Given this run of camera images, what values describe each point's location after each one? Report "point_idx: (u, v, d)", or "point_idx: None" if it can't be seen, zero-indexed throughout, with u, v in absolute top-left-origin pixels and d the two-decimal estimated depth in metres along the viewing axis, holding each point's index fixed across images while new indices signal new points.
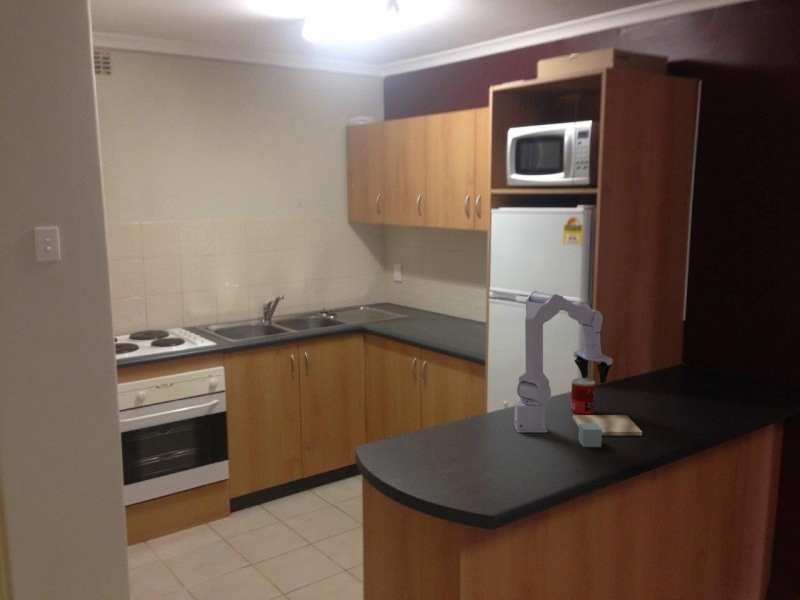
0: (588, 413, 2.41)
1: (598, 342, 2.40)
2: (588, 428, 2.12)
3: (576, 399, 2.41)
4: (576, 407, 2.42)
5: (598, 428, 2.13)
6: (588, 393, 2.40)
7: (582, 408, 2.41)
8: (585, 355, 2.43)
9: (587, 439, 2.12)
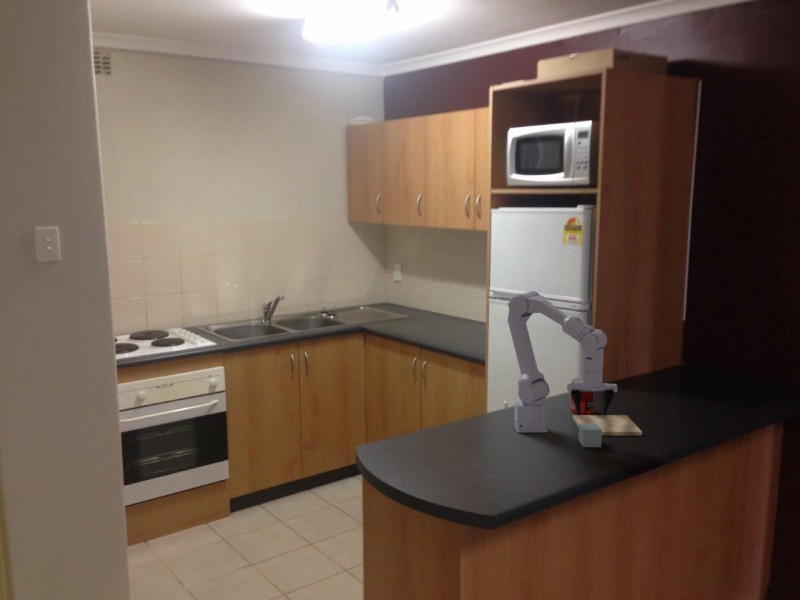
0: (588, 413, 2.41)
1: (588, 370, 2.09)
2: (588, 428, 2.12)
3: None
4: None
5: (598, 428, 2.13)
6: (588, 392, 2.40)
7: (582, 408, 2.41)
8: None
9: (587, 439, 2.12)
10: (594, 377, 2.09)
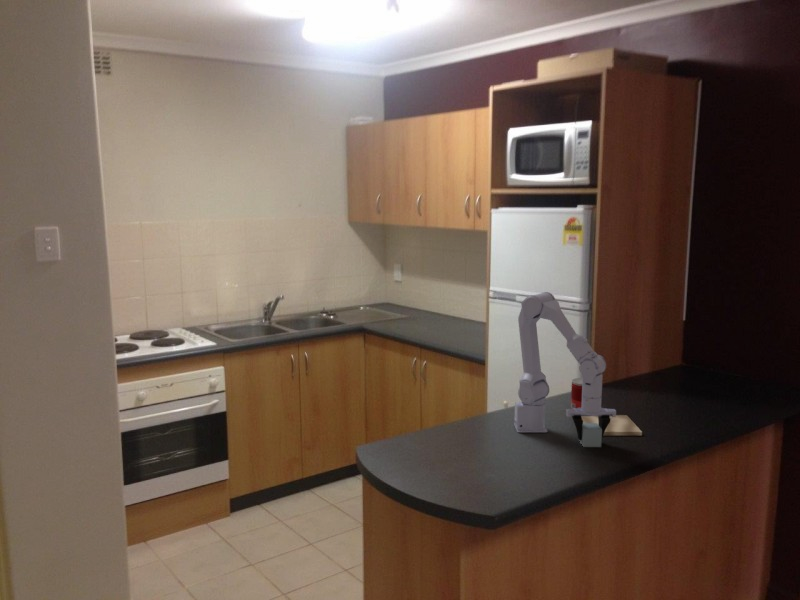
0: None
1: (587, 395, 2.11)
2: (588, 428, 2.12)
3: (576, 399, 2.41)
4: None
5: (598, 428, 2.13)
6: None
7: None
8: None
9: (587, 438, 2.12)
10: (593, 403, 2.10)
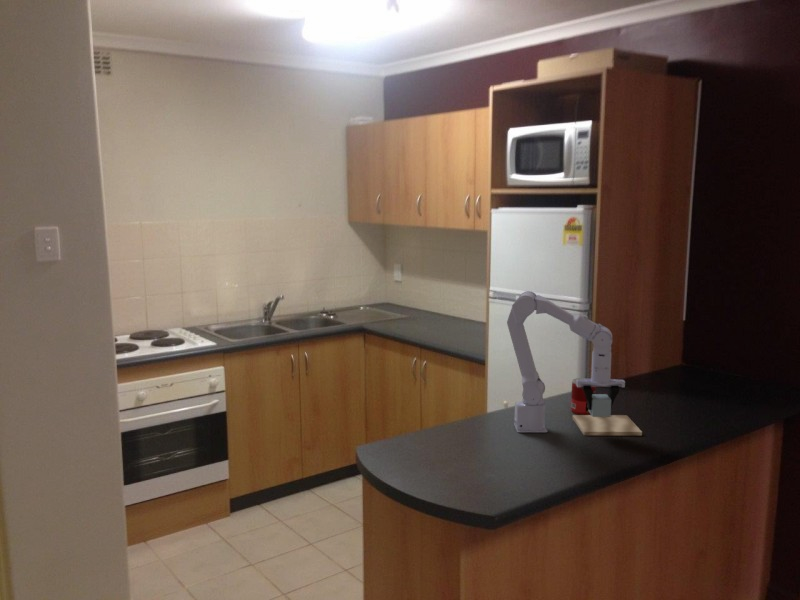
0: (589, 413, 2.41)
1: (600, 366, 2.16)
2: (597, 398, 2.18)
3: (577, 399, 2.41)
4: (577, 407, 2.41)
5: (607, 398, 2.19)
6: None
7: (583, 408, 2.41)
8: None
9: (597, 408, 2.18)
10: (603, 373, 2.16)
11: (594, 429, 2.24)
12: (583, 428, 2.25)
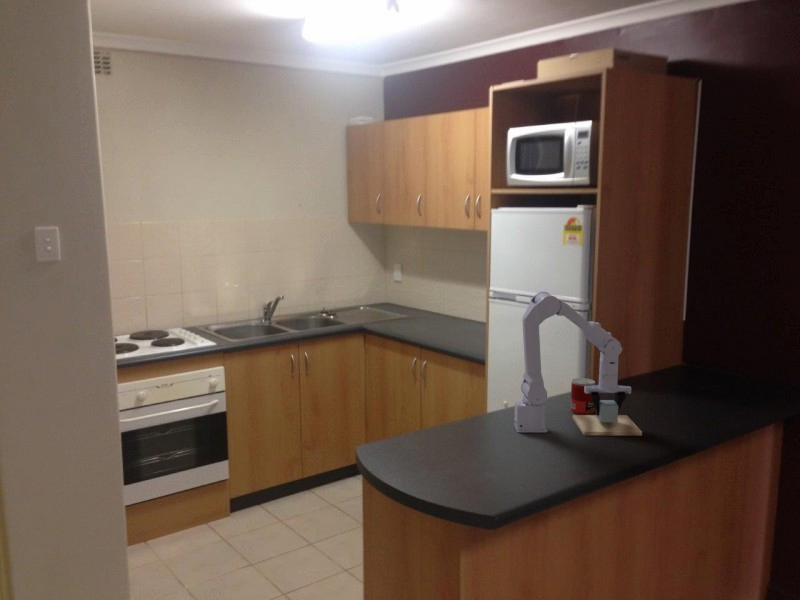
0: (589, 413, 2.41)
1: (611, 373, 2.24)
2: (605, 404, 2.26)
3: (576, 399, 2.41)
4: (577, 407, 2.41)
5: (615, 404, 2.27)
6: None
7: (583, 408, 2.41)
8: None
9: (604, 414, 2.26)
10: (610, 380, 2.24)
11: (594, 429, 2.24)
12: (583, 428, 2.25)
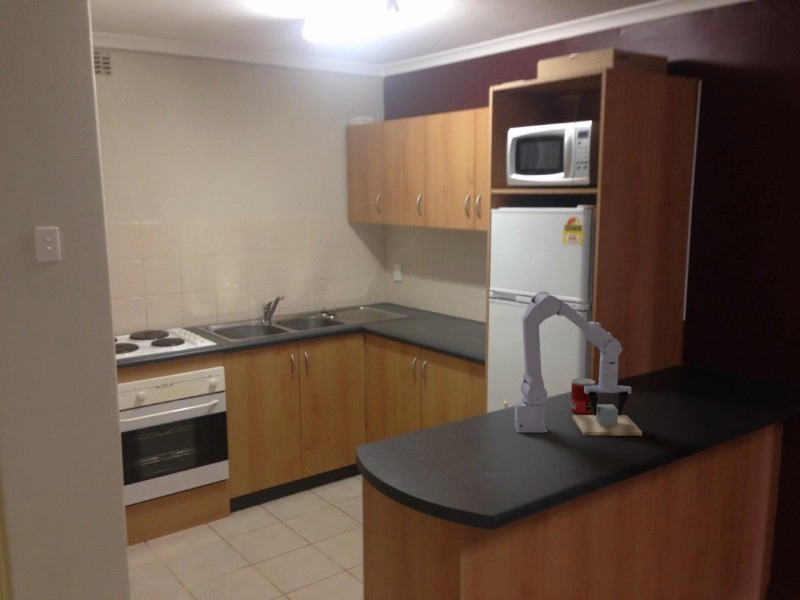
0: (589, 413, 2.41)
1: (611, 373, 2.24)
2: (605, 408, 2.27)
3: (577, 399, 2.41)
4: (577, 407, 2.41)
5: (614, 408, 2.27)
6: None
7: (583, 408, 2.41)
8: None
9: (604, 418, 2.26)
10: (610, 380, 2.24)
11: (594, 429, 2.24)
12: (583, 428, 2.25)
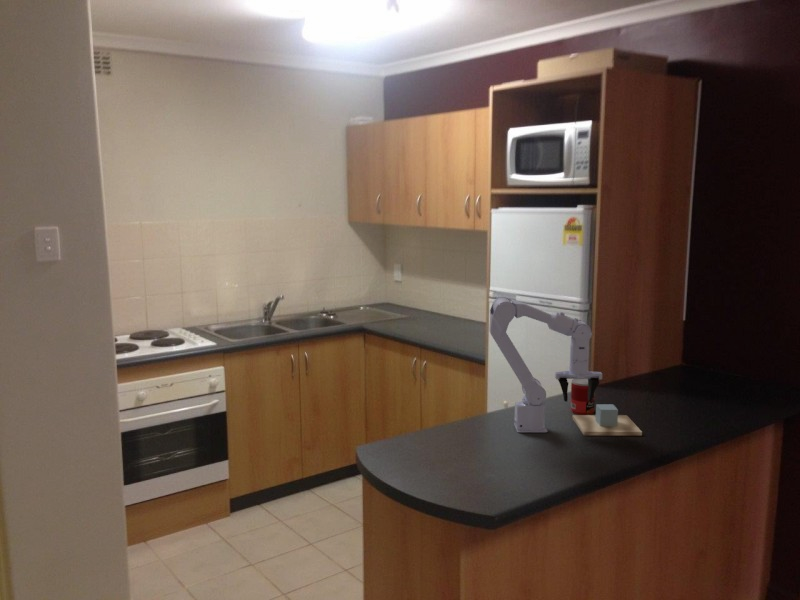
0: (589, 413, 2.41)
1: (581, 359, 2.21)
2: (605, 408, 2.27)
3: (577, 399, 2.41)
4: (577, 408, 2.41)
5: (614, 408, 2.27)
6: None
7: (583, 408, 2.41)
8: None
9: (604, 418, 2.26)
10: (580, 365, 2.22)
11: (594, 429, 2.24)
12: (583, 428, 2.25)
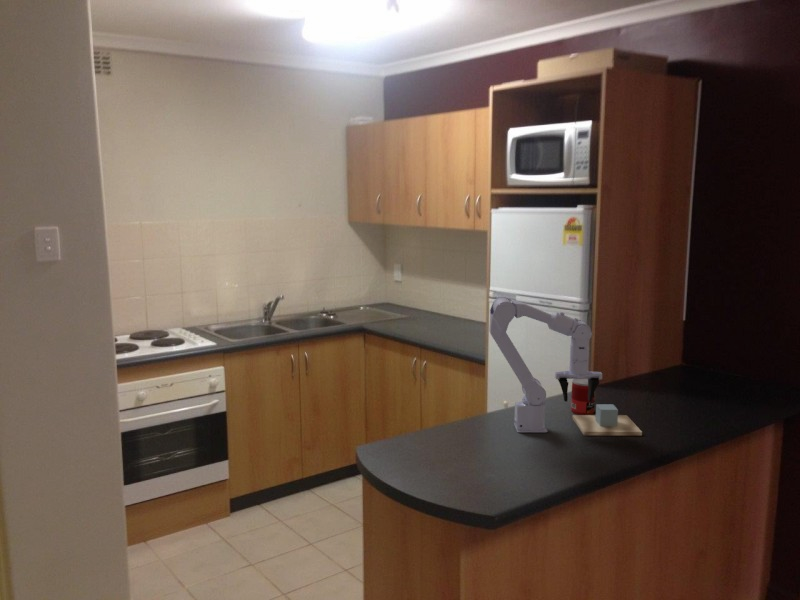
0: (589, 413, 2.41)
1: (581, 359, 2.21)
2: (605, 408, 2.27)
3: (577, 399, 2.41)
4: (578, 407, 2.41)
5: (614, 408, 2.27)
6: None
7: (583, 408, 2.41)
8: None
9: (604, 418, 2.26)
10: (580, 365, 2.22)
11: (594, 429, 2.24)
12: (583, 428, 2.25)
